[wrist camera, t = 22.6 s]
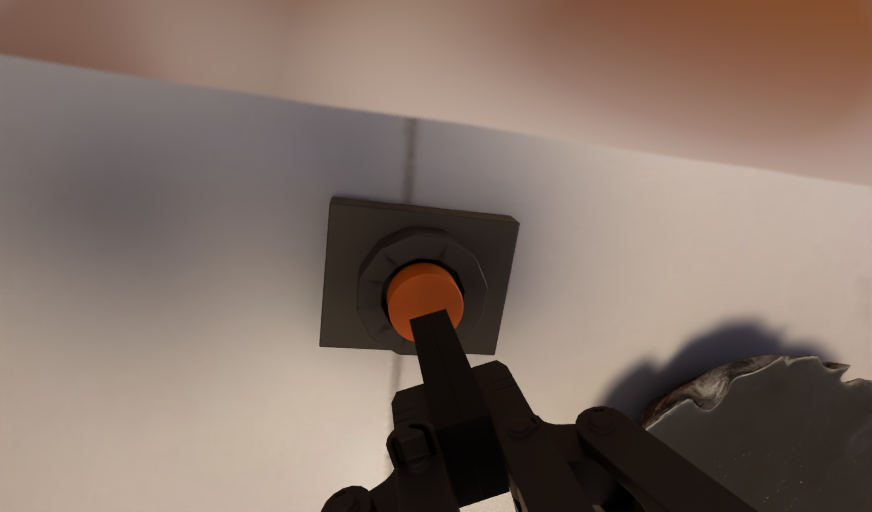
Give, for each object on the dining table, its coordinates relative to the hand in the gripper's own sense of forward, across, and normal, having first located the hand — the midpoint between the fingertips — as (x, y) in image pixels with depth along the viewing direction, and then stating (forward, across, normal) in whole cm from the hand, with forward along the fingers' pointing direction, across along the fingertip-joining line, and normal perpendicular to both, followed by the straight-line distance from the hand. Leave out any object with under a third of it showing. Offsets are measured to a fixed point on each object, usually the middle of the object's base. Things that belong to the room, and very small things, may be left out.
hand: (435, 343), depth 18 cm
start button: (+6, 0, 0) cm, 6 cm away
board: (+9, +17, -20) cm, 28 cm away
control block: (+9, 0, 0) cm, 9 cm away
